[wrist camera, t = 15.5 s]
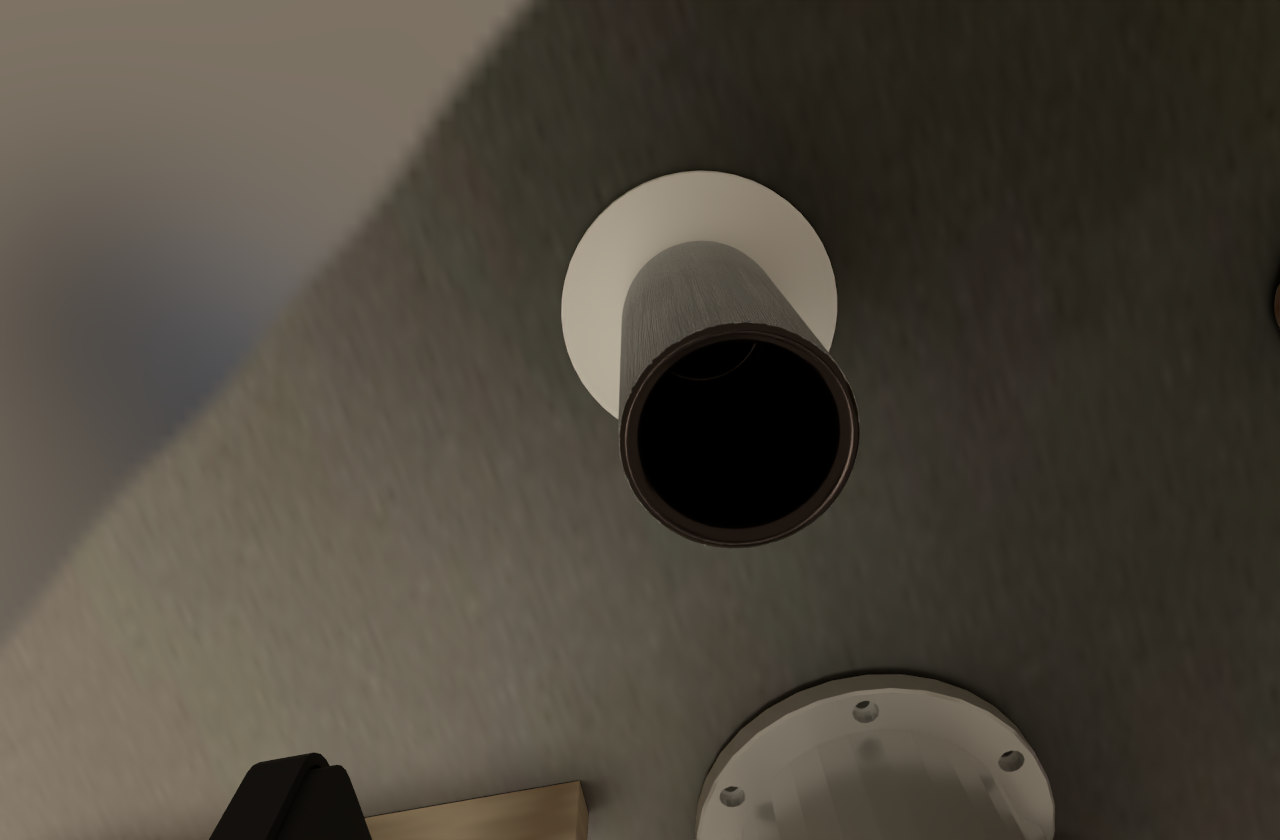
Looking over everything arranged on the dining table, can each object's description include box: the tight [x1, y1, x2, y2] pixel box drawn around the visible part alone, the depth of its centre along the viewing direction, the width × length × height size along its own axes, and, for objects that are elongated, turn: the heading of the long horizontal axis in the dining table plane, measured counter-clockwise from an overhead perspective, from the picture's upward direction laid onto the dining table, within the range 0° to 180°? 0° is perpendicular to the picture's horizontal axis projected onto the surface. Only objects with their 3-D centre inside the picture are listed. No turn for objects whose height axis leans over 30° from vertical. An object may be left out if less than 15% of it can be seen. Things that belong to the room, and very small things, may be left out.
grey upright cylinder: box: [618, 241, 860, 548], centre depth 22 cm, size 4×4×10 cm
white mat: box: [561, 170, 837, 419], centre depth 27 cm, size 8×8×1 cm
